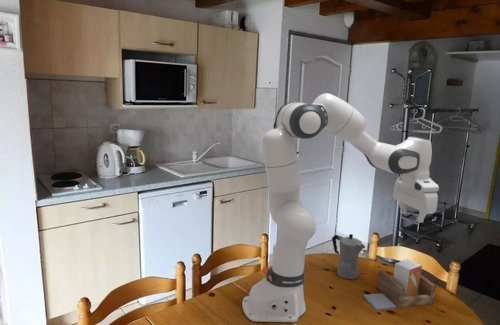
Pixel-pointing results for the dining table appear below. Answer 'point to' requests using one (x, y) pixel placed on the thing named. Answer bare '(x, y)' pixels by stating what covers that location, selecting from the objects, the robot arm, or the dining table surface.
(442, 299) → the dining table surface
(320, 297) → the dining table surface
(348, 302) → the dining table surface
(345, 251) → the coffeepot
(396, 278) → the small box
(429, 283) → the open wooden box
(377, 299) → the mat
